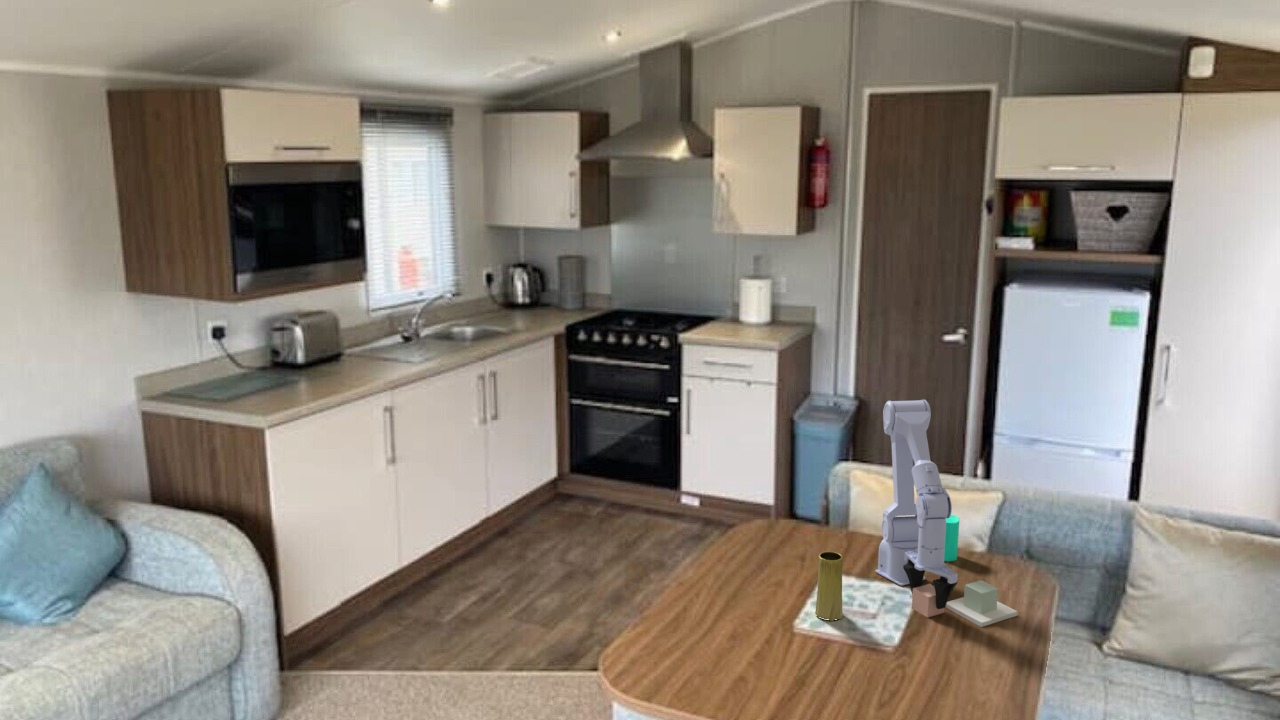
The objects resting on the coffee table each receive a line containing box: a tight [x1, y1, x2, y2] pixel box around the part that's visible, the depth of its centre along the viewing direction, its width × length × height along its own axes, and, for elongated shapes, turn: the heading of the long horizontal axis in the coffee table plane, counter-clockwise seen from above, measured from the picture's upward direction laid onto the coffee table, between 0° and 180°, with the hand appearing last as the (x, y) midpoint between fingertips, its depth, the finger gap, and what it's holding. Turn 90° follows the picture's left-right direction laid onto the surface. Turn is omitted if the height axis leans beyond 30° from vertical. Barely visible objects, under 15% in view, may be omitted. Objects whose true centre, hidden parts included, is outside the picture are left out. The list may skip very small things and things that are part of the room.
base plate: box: [945, 596, 1018, 628], centre depth 217 cm, size 11×11×1 cm
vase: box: [814, 550, 844, 620], centre depth 215 cm, size 6×6×14 cm
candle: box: [944, 514, 960, 562], centre depth 245 cm, size 6×6×12 cm
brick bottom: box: [963, 579, 999, 614], centre depth 216 cm, size 5×5×5 cm
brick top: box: [911, 583, 945, 618], centre depth 217 cm, size 5×5×5 cm
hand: (928, 601), depth 217 cm, fingers open, 7 cm apart
